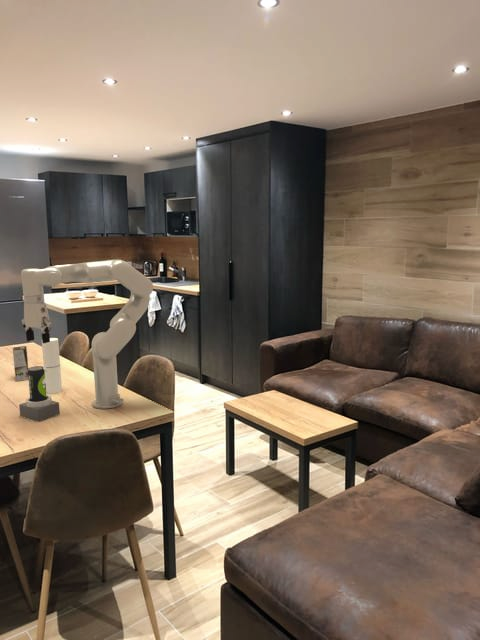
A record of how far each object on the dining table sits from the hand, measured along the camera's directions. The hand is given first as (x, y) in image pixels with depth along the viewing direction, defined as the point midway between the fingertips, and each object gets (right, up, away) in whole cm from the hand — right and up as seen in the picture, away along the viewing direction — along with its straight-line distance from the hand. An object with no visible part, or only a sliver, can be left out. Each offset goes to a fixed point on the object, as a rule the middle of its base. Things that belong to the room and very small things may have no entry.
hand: (38, 341), depth 202 cm
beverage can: (0, -26, +2) cm, 26 cm away
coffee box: (-31, -22, +56) cm, 68 cm away
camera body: (0, -30, +3) cm, 30 cm away
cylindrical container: (-6, -25, +34) cm, 43 cm away
